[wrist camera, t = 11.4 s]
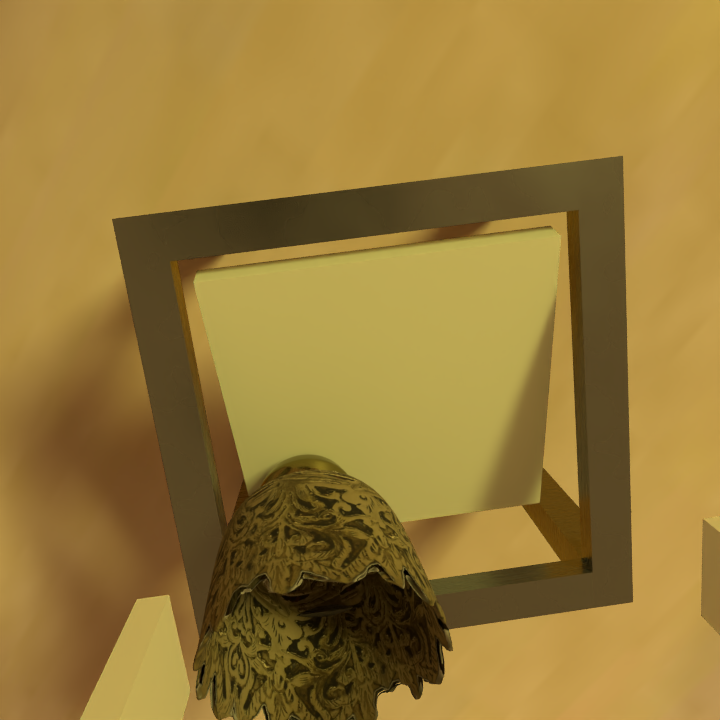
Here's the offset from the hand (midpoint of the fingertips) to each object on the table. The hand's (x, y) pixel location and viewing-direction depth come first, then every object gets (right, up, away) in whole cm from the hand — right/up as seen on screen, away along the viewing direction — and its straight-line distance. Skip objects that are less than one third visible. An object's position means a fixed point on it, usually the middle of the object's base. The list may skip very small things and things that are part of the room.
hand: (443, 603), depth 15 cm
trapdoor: (-1, +5, +9) cm, 10 cm away
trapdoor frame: (-2, +7, +20) cm, 21 cm away
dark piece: (-4, +1, +9) cm, 10 cm away
